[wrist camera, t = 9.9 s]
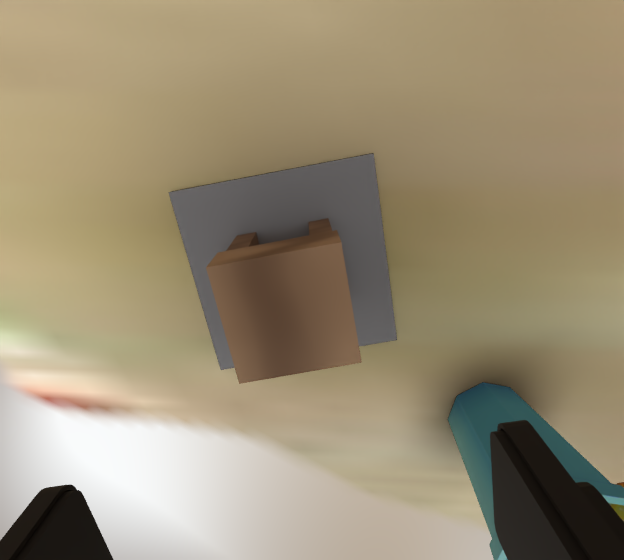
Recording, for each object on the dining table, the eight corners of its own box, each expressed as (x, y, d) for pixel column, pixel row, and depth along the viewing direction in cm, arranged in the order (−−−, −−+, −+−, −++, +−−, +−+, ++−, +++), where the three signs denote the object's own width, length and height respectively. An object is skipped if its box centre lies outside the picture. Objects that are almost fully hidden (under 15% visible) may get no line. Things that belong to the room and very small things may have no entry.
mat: (372, 153, 23) (373, 153, 23) (395, 337, 27) (397, 339, 27) (170, 191, 24) (168, 192, 23) (221, 366, 28) (220, 369, 27)
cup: (452, 504, 32) (570, 792, 18) (375, 461, 31) (437, 738, 16) (583, 379, 29) (858, 614, 14) (503, 322, 27) (723, 523, 13)
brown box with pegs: (331, 214, 24) (341, 242, 17) (346, 305, 26) (361, 362, 19) (232, 232, 24) (205, 267, 18) (255, 322, 26) (239, 383, 20)
